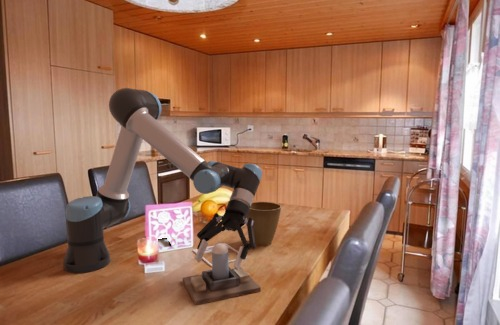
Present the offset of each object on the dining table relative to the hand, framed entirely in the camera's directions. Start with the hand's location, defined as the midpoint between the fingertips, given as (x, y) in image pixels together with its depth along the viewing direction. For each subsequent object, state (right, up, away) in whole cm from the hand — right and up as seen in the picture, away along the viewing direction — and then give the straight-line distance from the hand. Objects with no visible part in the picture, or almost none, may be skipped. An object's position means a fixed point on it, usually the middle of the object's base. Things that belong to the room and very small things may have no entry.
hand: (216, 264), depth 107 cm
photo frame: (-2, -5, +29) cm, 29 cm away
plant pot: (+16, -3, +42) cm, 45 cm away
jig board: (+1, -8, +3) cm, 8 cm away
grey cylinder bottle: (+1, -6, +3) cm, 7 cm away
